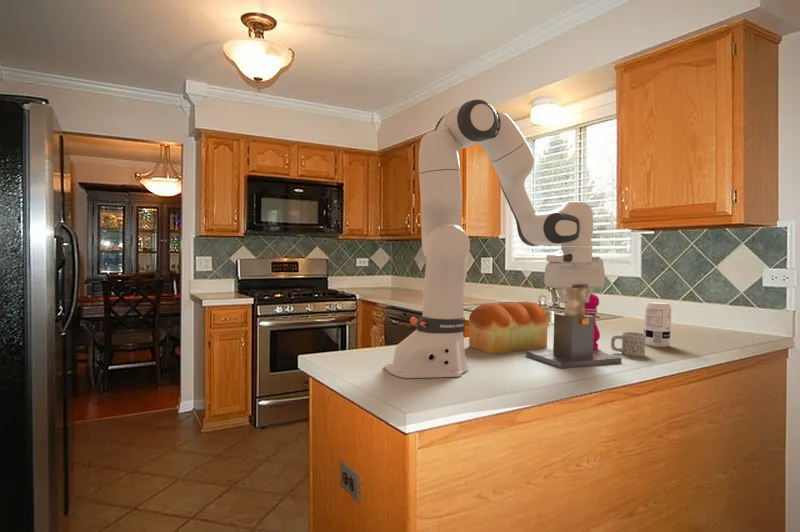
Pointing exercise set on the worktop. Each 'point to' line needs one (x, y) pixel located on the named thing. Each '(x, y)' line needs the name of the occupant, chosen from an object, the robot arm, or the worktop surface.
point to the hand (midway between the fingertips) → (574, 302)
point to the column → (575, 300)
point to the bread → (508, 327)
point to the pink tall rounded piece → (591, 310)
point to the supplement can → (657, 324)
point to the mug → (631, 344)
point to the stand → (573, 344)
